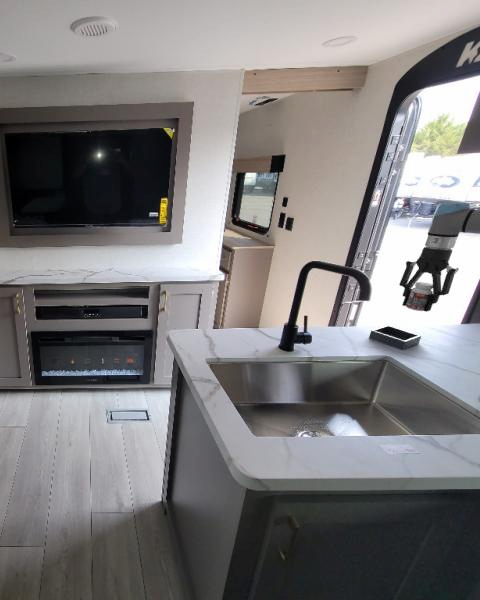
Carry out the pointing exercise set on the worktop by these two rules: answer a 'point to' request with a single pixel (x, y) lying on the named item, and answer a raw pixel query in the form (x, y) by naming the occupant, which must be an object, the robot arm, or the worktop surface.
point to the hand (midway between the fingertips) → (415, 307)
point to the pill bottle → (419, 296)
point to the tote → (395, 337)
